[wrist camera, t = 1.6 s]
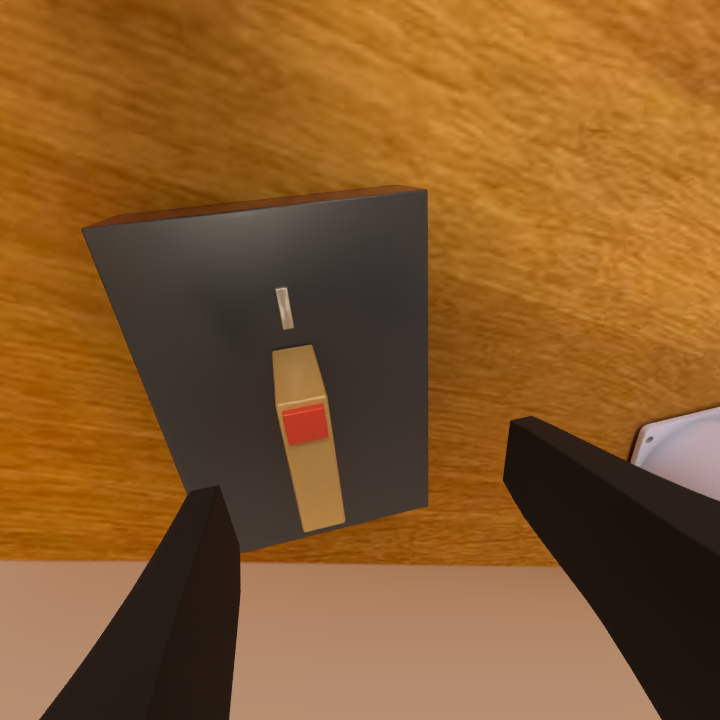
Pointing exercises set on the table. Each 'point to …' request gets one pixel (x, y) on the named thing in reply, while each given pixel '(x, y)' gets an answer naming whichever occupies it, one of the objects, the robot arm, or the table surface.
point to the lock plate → (280, 342)
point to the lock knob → (307, 436)
